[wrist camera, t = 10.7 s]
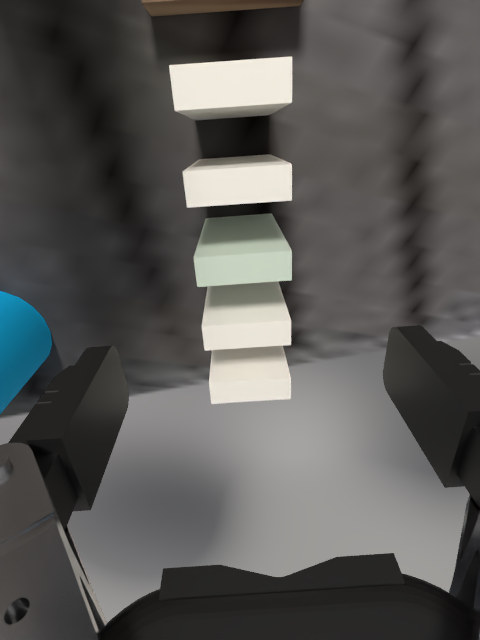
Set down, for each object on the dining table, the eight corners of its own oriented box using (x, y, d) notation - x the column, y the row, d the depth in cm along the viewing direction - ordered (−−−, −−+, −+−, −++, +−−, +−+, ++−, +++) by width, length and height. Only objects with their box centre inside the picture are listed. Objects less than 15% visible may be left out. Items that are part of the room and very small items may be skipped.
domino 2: (205, 218, 27) (193, 257, 18) (271, 213, 27) (291, 250, 18) (207, 239, 28) (197, 287, 19) (272, 234, 28) (291, 280, 19)
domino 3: (210, 267, 29) (201, 326, 20) (272, 263, 29) (291, 320, 20) (212, 286, 30) (204, 350, 21) (272, 282, 30) (290, 344, 21)
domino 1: (199, 159, 25) (182, 171, 16) (270, 154, 25) (292, 163, 16) (201, 183, 26) (187, 207, 17) (270, 178, 26) (291, 200, 17)
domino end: (192, 92, 23) (169, 65, 15) (268, 86, 23) (292, 56, 14) (195, 120, 24) (174, 110, 15) (269, 115, 24) (292, 102, 15)
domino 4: (215, 312, 31) (208, 383, 22) (273, 308, 31) (290, 378, 22) (216, 328, 31) (211, 404, 23) (273, 324, 31) (290, 399, 23)
